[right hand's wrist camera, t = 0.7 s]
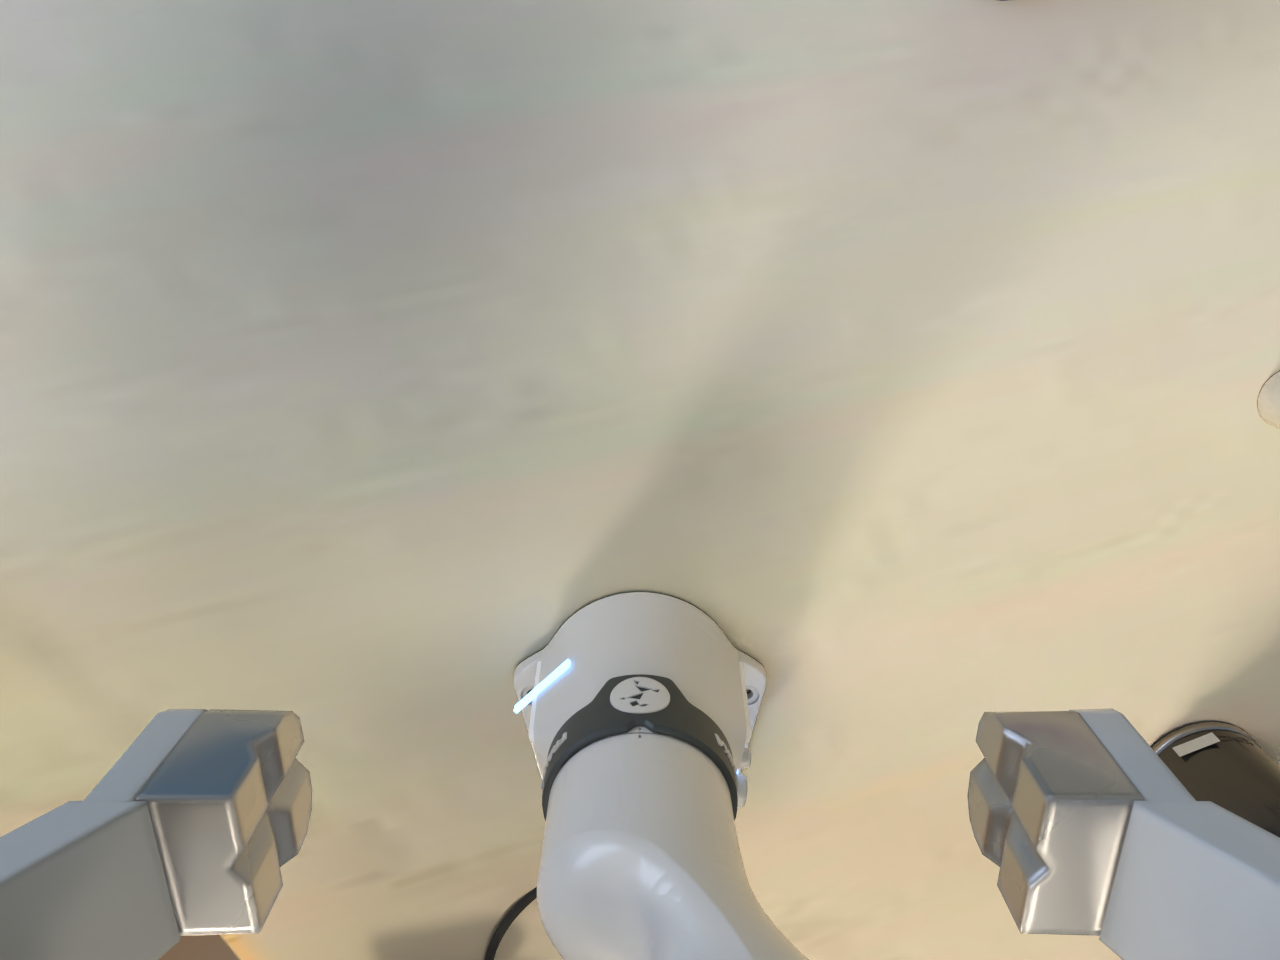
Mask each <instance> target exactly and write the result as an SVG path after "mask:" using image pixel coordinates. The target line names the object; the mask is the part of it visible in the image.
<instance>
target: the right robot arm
mask: <svg viewBox="0 0 1280 960" xmlns="http://www.w3.org/2000/svg"><path fill="white" fill-rule="evenodd" d="M514 687H515V691H516V694H517V697H518V701H519V702H518V703H517V704H516V705H515V707H514V712H515V713H516V714H517V713H518V712H519V711H520V710H521V711H522V714H523V718H524V721H525V725H526V728H527V731H528V735H529V740H530V742H531V745H532V748H533V752H534V755H535V759H536V762H537V766H538V769H539V772H540V776H541V779H542V789H543V794H542V807H543V813H544V818H545V821H546V824H545V831H544V838H543V846H542V853H541V860H540V868H539V875H538V883H537V887H536V888H535V889H534V890H532V891H531V892H529V893H528V894H527V895H526V896H525V897H524V898H523V899H522V900H521V901H520V902H519V903H518V904H517V905H516V906H515V907H514V908H513V909H512V910H511V911H510V912H509V913H508V915H507V916H506V917H505V919H504V920H503V921H502V923H501V924H500V926H499V927H498V929H497V931H496V932H495V934H494V936H493V938H492V940H491V943H490V945H489V948H488V951H487V954H486V958H485V960H494V956H495V953H496V950H497V948H498V945H499V943H500V941H501V939H502V937H503V935H504V934H505V932H506V930H507V929H508V927H509V926H510V925H511V923H512V922H513V921H514V919H515V918H516V917H517V916H518V915H519V914H520V913H521V912H522V911H523V910H524V909H525V908H526V907H527V906H528V905H529V904H530V903H531V902H532V901H533V900H534V899H535V898H537V903H538V910H539V914H540V918H541V921H542V924H543V927H544V929H545V931H546V933H547V935H548V937H549V938H550V940H551V942H552V943H553V945H554V947H555V948H556V950H557V951H558V953H559V954H560V956H561V957H562V958H563V960H808V959H807V958H806V957H805V956H804V955H803V954H802V953H801V952H800V951H799V950H798V949H797V948H796V947H795V946H794V945H793V944H792V943H791V942H790V941H789V940H788V939H787V938H786V937H785V936H784V935H783V934H782V932H781V931H780V930H779V929H778V928H777V927H776V926H775V924H774V923H773V922H772V921H771V919H770V918H769V917H768V916H767V914H766V913H765V911H764V910H763V908H762V907H761V905H760V904H759V902H758V901H757V899H756V897H755V895H754V893H753V891H752V889H751V887H750V885H749V882H748V879H747V875H746V872H745V868H744V864H743V860H742V857H741V852H740V848H739V843H738V838H737V833H736V828H735V822H734V821H735V818H736V813H737V808H741V807H744V805H745V802H746V797H747V778H746V776H744V775H742V774H740V772H741V769H742V768H743V769H744V768H746V769H748V768H749V767H750V763H751V750H750V749H748V745H749V742H750V740H751V735H752V732H753V728H754V725H755V721H756V718H757V715H758V711H759V708H760V704H761V701H762V698H763V694H764V691H765V687H766V671H765V669H764V667H763V666H762V665H761V664H760V663H759V662H757V661H756V660H754V659H753V658H751V657H750V656H748V655H746V654H744V653H743V652H741V651H739V650H737V649H736V648H735V647H734V646H733V645H732V644H731V642H730V641H729V640H728V638H727V637H726V636H725V634H724V633H723V631H722V630H721V629H720V628H719V626H718V625H717V624H716V623H715V622H714V621H713V620H712V619H711V618H710V617H709V616H708V615H706V614H705V613H704V612H702V611H701V610H699V609H698V608H696V607H695V606H693V605H691V604H689V603H687V602H685V601H683V600H680V599H677V598H674V597H671V596H667V595H663V594H657V593H649V592H631V593H623V594H617V595H613V596H609V597H606V598H603V599H600V600H597V601H595V602H593V603H591V604H589V605H587V606H585V607H584V608H582V609H581V610H579V611H578V612H576V613H575V614H574V615H572V616H571V617H570V618H569V619H568V620H567V621H566V622H565V623H564V624H563V625H562V626H561V628H560V629H559V630H558V631H557V633H556V634H555V636H554V637H553V638H552V640H551V641H550V642H549V644H548V645H547V646H546V647H545V648H544V649H543V650H541V651H539V652H537V653H536V654H534V655H532V656H531V657H529V658H527V659H526V660H524V661H523V662H521V663H520V664H519V665H518V666H517V667H516V669H515V671H514ZM531 689H533V690H532V691H531V692H529V690H531ZM746 689H749V690H751V692H749V693H747V692H746ZM303 742H304V737H303V732H302V727H301V722H300V718H299V717H298V716H297V715H296V714H295V713H294V712H293V711H265V710H219V709H211V710H205V709H169V710H166V711H163V712H160V713H158V714H157V715H156V716H155V717H154V718H153V720H152V721H151V722H150V723H149V724H148V726H147V727H146V728H145V729H144V730H143V731H142V733H141V734H140V735H139V736H138V737H137V738H136V740H135V741H134V742H133V743H132V744H131V746H130V747H129V748H128V749H127V750H126V751H125V753H124V754H123V755H122V756H121V757H120V759H119V760H118V761H117V762H116V763H115V764H114V766H113V767H112V768H111V769H110V770H109V772H108V773H107V774H106V775H105V776H104V777H103V779H102V780H101V781H100V782H99V783H98V784H97V786H96V787H95V788H94V789H93V790H92V792H91V793H90V794H89V795H88V796H87V797H86V799H85V800H84V801H69V802H67V803H65V804H63V805H61V806H59V807H58V808H56V809H54V810H52V811H50V812H48V813H46V814H44V815H42V816H40V817H39V818H37V819H35V820H33V821H31V822H29V823H27V824H25V825H23V826H21V827H19V828H18V829H16V830H14V831H12V832H10V833H8V834H6V835H4V836H2V837H0V960H158V959H159V958H160V957H162V956H163V955H164V954H165V953H166V952H167V951H169V950H170V949H171V948H172V947H173V946H174V945H175V944H177V943H178V942H179V941H180V939H181V938H180V936H186V935H220V934H254V933H260V931H261V929H262V927H263V925H264V923H265V921H266V919H267V917H268V914H269V912H270V910H271V908H272V906H273V904H274V902H275V900H276V898H277V896H278V894H279V892H280V890H281V888H282V886H283V883H282V877H281V871H280V867H281V866H282V865H283V864H285V863H286V862H288V861H289V860H290V859H292V858H293V857H294V856H296V855H297V854H298V852H299V850H300V848H301V845H302V843H303V841H304V839H305V837H306V834H307V830H308V825H309V820H310V816H311V811H312V785H311V779H310V772H309V771H308V770H307V769H306V768H305V767H304V766H303V765H302V764H301V763H300V762H299V761H298V760H297V759H296V758H295V757H296V755H297V753H298V752H299V750H300V748H301V746H302V744H303ZM976 742H977V744H978V746H979V748H980V750H981V752H982V753H983V755H984V757H985V758H984V759H983V760H982V761H981V762H980V763H979V764H978V765H977V766H976V767H975V768H974V769H973V770H972V771H971V772H970V780H969V788H968V806H969V818H970V822H971V826H972V830H973V833H974V837H975V839H976V841H977V843H978V846H979V848H980V850H981V852H982V854H983V855H984V856H986V857H987V858H988V859H990V860H991V861H992V862H994V863H995V864H997V865H998V866H999V867H1000V872H999V877H998V883H997V886H998V888H999V890H1000V892H1001V894H1002V896H1003V898H1004V900H1005V902H1006V904H1007V906H1008V908H1009V910H1010V912H1011V914H1012V916H1013V918H1014V921H1015V923H1016V925H1017V927H1018V929H1019V931H1020V933H1023V934H1059V935H1094V936H1100V938H1099V940H1100V941H1102V942H1103V943H1104V944H1105V945H1106V946H1107V947H1108V948H1110V949H1111V950H1112V951H1113V952H1114V953H1115V954H1117V955H1118V956H1119V957H1120V958H1121V959H1122V960H1280V838H1279V837H1278V836H1276V835H1274V834H1272V833H1270V832H1268V831H1266V830H1264V829H1262V828H1260V827H1259V826H1257V825H1255V824H1253V823H1251V822H1249V821H1247V820H1245V819H1243V818H1241V817H1240V816H1238V815H1236V814H1234V813H1232V812H1230V811H1228V810H1226V809H1224V808H1222V807H1220V806H1219V805H1217V804H1215V803H1213V802H1211V801H1196V800H1195V799H1194V797H1193V796H1192V795H1191V794H1190V793H1189V792H1188V790H1187V789H1186V788H1185V787H1184V786H1183V785H1182V783H1181V782H1180V781H1179V780H1178V779H1177V777H1176V776H1175V775H1174V774H1173V773H1172V772H1171V770H1170V769H1169V768H1168V767H1167V766H1166V765H1165V763H1164V762H1163V761H1162V760H1161V759H1160V757H1159V756H1158V755H1157V754H1156V753H1155V752H1154V750H1153V749H1152V748H1151V747H1150V746H1149V744H1148V743H1147V742H1146V741H1145V740H1144V739H1143V737H1142V736H1141V735H1140V734H1139V733H1138V732H1137V730H1136V729H1135V728H1134V727H1133V726H1132V724H1131V723H1130V722H1129V721H1128V720H1127V719H1126V717H1125V716H1124V715H1123V714H1122V713H1120V712H1118V711H1116V710H1114V709H1084V710H1069V711H1036V712H984V714H983V716H982V718H981V720H980V722H979V725H978V731H977V736H976Z"/></svg>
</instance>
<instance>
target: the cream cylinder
mask: <svg viewBox="0 0 1280 960" xmlns="http://www.w3.org/2000/svg"><path fill="white" fill-rule="evenodd" d="M1257 405H1258V411H1259V414H1260V416H1261V417H1262V419H1263V420H1264V421H1265V422H1266V423H1268V424H1270V425H1272V426H1274V427H1276V428H1278V429H1280V371H1279V372H1277V373H1276V374H1274V375H1273V376H1272V377H1271V378H1270V379H1269V380H1268V381H1267V382H1266V383H1265V384H1264V386H1263V387H1262V389H1261V391H1260V394H1259V397H1258V404H1257Z"/></svg>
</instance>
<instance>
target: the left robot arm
mask: <svg viewBox="0 0 1280 960" xmlns="http://www.w3.org/2000/svg"><path fill="white" fill-rule="evenodd" d="M1152 749H1153V750H1154V752H1155V753H1156V754H1157V755H1158V756H1159V757H1160V759H1161V760H1162V761H1163V762H1164V763H1165V765H1166V766H1167V767H1168V768H1169V769H1170V770H1171V772H1172V773H1173V774H1174V775H1175V776H1176V777H1177V779H1178V780H1179V781H1180V782H1181V783H1182V785H1183V786H1184V787H1185V788H1186V789H1187V790H1188V792H1189V793H1190V794H1191V795H1192V796H1193V797H1194V799H1195V800H1196V801H1211V802H1213V803H1215V804H1217V805H1219V806H1220V807H1222V808H1224V809H1226V810H1228V811H1230V812H1232V813H1234V814H1236V815H1238V816H1240V817H1241V818H1243V819H1245V820H1247V821H1249V822H1251V823H1253V824H1255V825H1257V826H1259V827H1260V828H1262V829H1264V830H1266V831H1268V832H1270V833H1272V834H1274V835H1276V836H1278V837H1279V838H1280V767H1279V766H1278V765H1277V764H1276V763H1275V762H1274V761H1273V760H1272V759H1271V758H1270V757H1269V756H1268V755H1267V754H1266V753H1265V752H1264V751H1263V750H1262V749H1261V748H1260V746H1259V745H1258V744H1257V742H1256V741H1255V740H1254V739H1253V738H1252V737H1251V736H1249V735H1248V734H1247V733H1246V732H1245V731H1243V730H1242V729H1240V728H1238V727H1236V726H1233V725H1230V724H1226V723H1220V722H1203V723H1197V724H1192V725H1189V726H1185V727H1183V728H1180V729H1178V730H1176V731H1174V732H1172V733H1170V734H1168V735H1167V736H1165V737H1164V738H1162V739H1161V740H1160V741H1158V742H1157V743H1156V744H1155V745H1154V746H1153V747H1152Z"/></svg>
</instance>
